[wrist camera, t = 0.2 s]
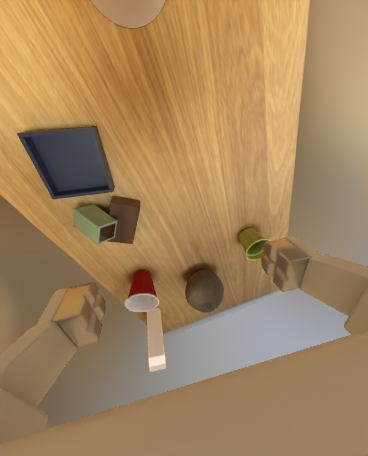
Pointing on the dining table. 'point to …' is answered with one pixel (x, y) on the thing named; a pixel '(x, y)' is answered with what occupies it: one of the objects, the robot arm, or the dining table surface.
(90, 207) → the green box
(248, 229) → the plant pot
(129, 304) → the plastic cup
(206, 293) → the grey-brown rounded piece
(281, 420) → the robot arm
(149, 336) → the milk
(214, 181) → the dining table surface
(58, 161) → the tray
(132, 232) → the walnut block
